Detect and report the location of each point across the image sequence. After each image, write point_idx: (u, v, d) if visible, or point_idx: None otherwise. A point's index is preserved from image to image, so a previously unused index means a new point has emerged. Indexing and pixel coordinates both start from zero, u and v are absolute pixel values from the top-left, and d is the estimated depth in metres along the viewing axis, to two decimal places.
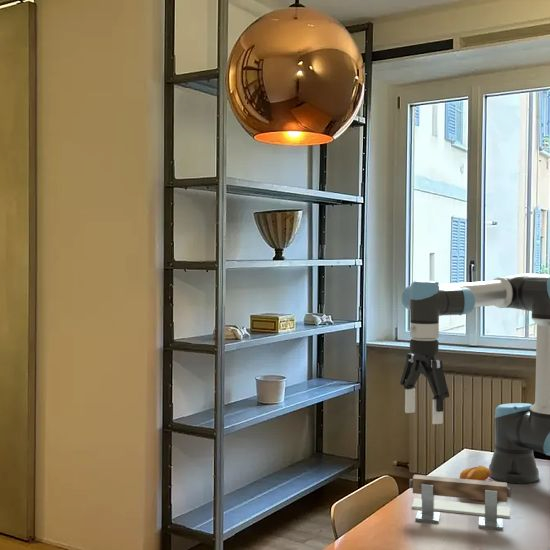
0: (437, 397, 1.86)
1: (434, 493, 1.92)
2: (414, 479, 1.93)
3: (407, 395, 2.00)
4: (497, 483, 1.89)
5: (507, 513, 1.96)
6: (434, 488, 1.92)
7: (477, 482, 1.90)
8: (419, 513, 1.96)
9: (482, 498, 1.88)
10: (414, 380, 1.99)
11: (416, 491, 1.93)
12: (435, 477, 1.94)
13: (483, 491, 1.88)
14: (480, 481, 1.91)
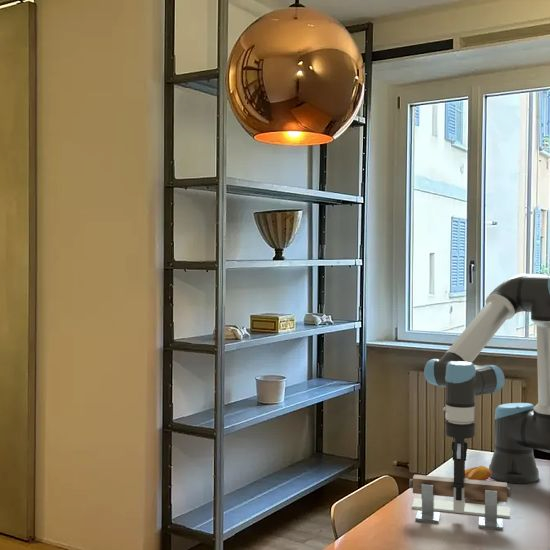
0: (454, 486, 1.89)
1: (434, 493, 1.92)
2: (414, 479, 1.93)
3: None
4: (497, 483, 1.89)
5: (507, 513, 1.96)
6: (434, 488, 1.92)
7: (477, 482, 1.90)
8: (419, 513, 1.96)
9: (482, 498, 1.88)
10: None
11: (416, 491, 1.93)
12: (435, 477, 1.94)
13: (483, 491, 1.88)
14: (480, 481, 1.91)
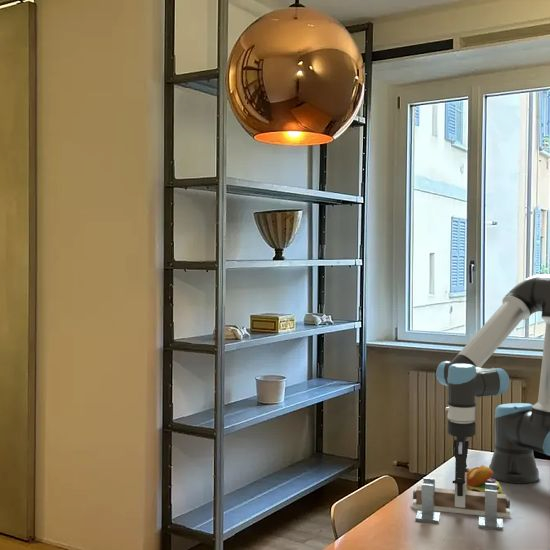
0: (455, 482, 1.96)
1: (437, 504, 2.02)
2: (418, 491, 2.03)
3: None
4: (497, 495, 1.99)
5: (507, 513, 1.96)
6: (436, 499, 2.02)
7: (477, 494, 2.00)
8: (419, 513, 1.96)
9: (482, 509, 1.98)
10: None
11: (419, 502, 2.03)
12: (438, 489, 2.04)
13: (483, 502, 1.98)
14: (480, 493, 2.01)
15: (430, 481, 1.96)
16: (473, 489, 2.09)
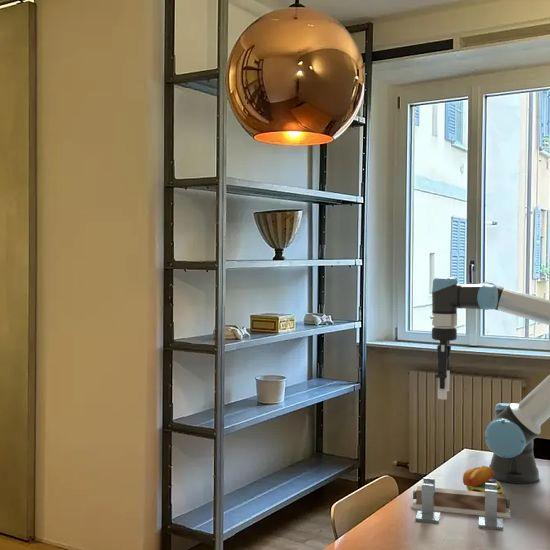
0: (438, 376, 2.18)
1: (437, 504, 2.02)
2: (418, 491, 2.03)
3: None
4: (497, 495, 1.99)
5: (507, 513, 1.96)
6: (436, 499, 2.02)
7: (477, 494, 2.00)
8: (419, 513, 1.96)
9: (482, 509, 1.98)
10: None
11: (419, 502, 2.03)
12: (438, 489, 2.04)
13: (483, 502, 1.98)
14: (480, 493, 2.01)
15: (430, 481, 1.96)
16: (474, 489, 2.09)
